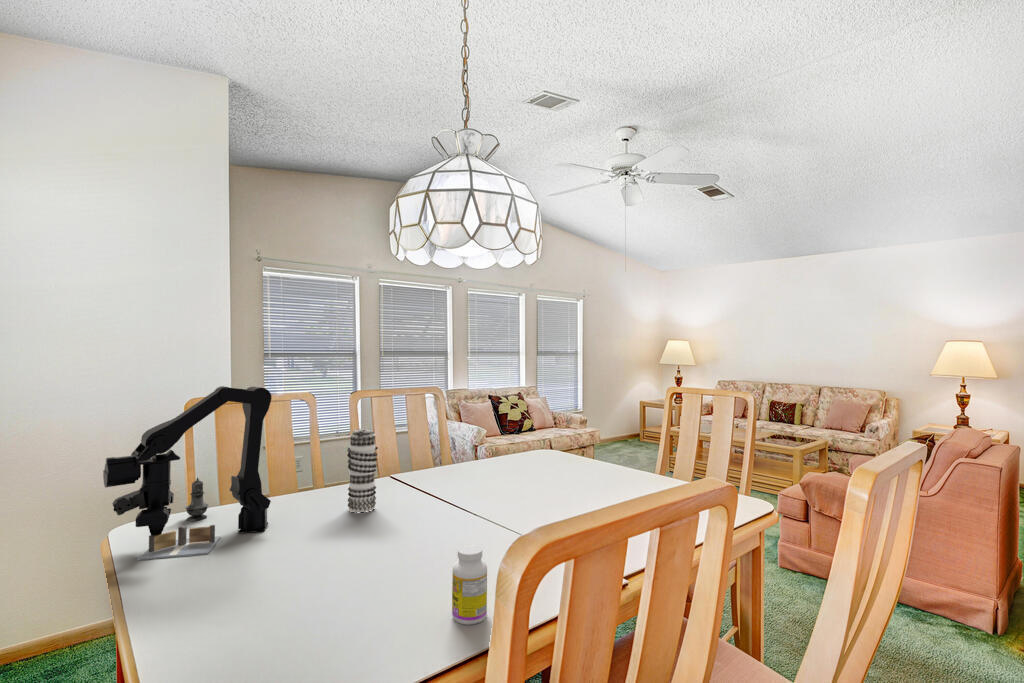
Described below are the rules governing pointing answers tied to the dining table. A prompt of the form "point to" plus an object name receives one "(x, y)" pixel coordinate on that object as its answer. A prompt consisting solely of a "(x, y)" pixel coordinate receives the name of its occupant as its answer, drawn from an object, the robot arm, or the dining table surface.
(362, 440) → the decorative candle
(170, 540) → the fence panel
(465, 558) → the supplement bottle
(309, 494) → the dining table surface
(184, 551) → the card
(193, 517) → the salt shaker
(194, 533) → the fixed fence
